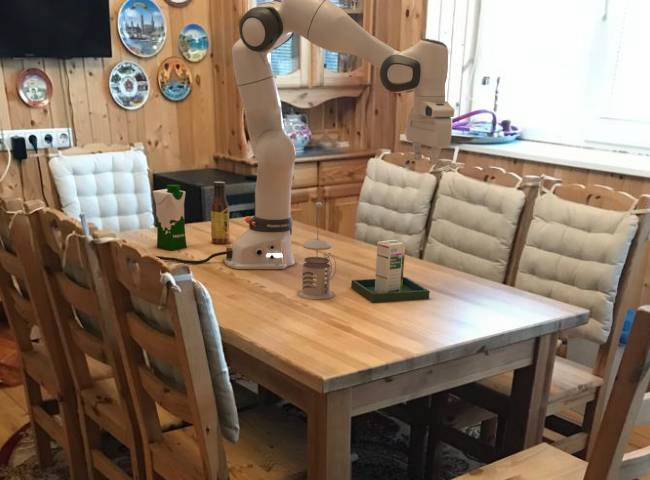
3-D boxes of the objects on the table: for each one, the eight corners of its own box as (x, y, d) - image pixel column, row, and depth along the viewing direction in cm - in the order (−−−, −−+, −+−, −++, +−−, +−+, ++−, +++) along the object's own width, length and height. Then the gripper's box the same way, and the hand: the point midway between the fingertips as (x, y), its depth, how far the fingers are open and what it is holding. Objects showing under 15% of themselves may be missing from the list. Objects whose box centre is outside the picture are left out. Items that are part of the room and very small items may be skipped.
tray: (372, 303, 226) (373, 294, 225) (351, 288, 239) (351, 280, 238) (428, 299, 232) (429, 290, 231) (405, 284, 245) (405, 276, 244)
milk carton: (171, 251, 270) (168, 187, 260) (152, 247, 274) (148, 183, 264) (190, 247, 276) (188, 184, 266) (171, 243, 280) (168, 181, 270)
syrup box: (386, 297, 231) (390, 244, 224) (373, 292, 235) (377, 240, 228) (402, 294, 234) (406, 242, 227) (388, 289, 238) (392, 238, 231)
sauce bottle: (228, 245, 281) (227, 184, 272) (210, 244, 281) (208, 183, 271) (230, 241, 287) (229, 181, 277) (213, 240, 287) (211, 180, 277)
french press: (316, 287, 238) (319, 197, 225) (344, 296, 231) (349, 204, 218) (291, 293, 232) (293, 201, 219) (319, 302, 224) (323, 207, 212)
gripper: (402, 104, 229) (399, 157, 236) (436, 110, 213) (432, 167, 219) (422, 104, 231) (418, 157, 238) (457, 110, 215) (453, 166, 222)
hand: (425, 162), depth 229 cm, fingers open, 8 cm apart
